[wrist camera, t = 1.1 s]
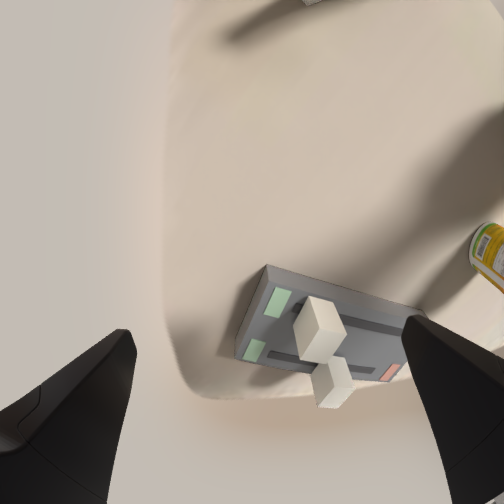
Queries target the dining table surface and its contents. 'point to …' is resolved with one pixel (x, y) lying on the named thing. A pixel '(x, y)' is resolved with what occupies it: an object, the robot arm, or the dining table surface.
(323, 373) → the block
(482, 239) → the supplement bottle
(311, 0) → the light switch
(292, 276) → the panel
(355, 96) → the dining table surface
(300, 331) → the block
